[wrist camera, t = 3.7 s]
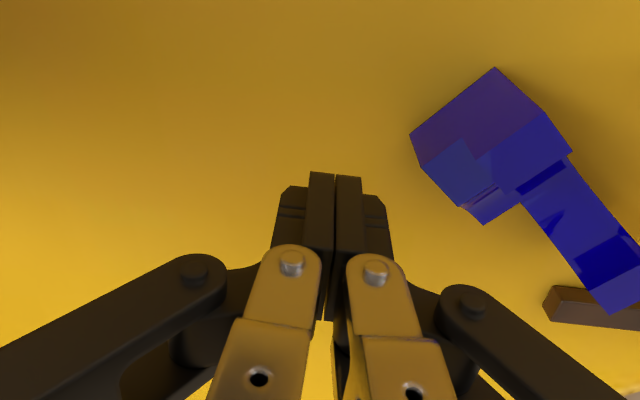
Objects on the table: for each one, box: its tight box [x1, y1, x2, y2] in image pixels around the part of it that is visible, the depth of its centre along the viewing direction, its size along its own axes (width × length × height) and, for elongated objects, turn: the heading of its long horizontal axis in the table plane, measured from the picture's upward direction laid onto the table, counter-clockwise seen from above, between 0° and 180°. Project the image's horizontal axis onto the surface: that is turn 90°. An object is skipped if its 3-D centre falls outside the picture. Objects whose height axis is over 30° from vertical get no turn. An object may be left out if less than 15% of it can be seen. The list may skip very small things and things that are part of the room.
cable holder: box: [409, 67, 640, 316], centre depth 15 cm, size 8×4×4 cm, turn 44°
